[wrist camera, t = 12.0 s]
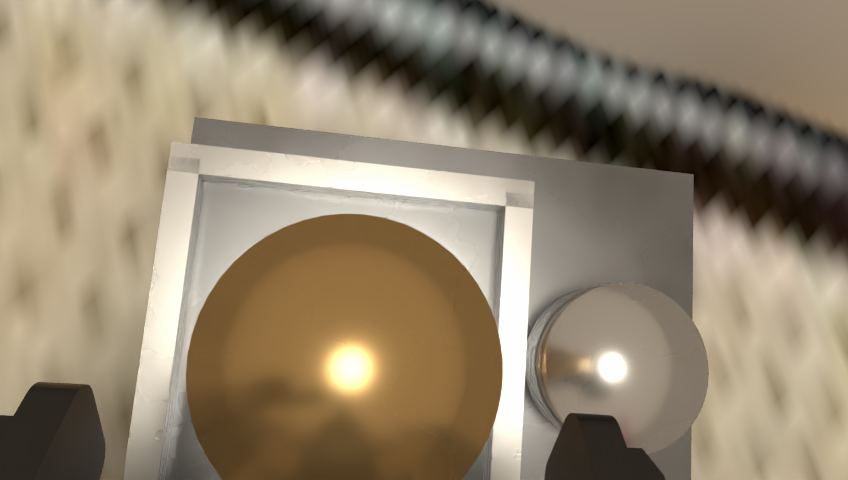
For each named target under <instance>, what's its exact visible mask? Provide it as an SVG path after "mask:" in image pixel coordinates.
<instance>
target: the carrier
mask: <svg viewBox="0 0 848 480" xmlns="http://www.w3.org/2000/svg"><path fill="white" fill-rule="evenodd" d="M693 175H694V174H685V173H676V172H668V171H659V170H650V169H642V168H633V167H624V166H615V165H607V164H598V163H589V162H581V161H572V160H563V159H554V158H546V157H537V156H528V155H520V154H511V153H502V152H493V151H485V150H476V149H467V148H459V147H450V146H441V145H432V144H424V143H415V142H406V141H398V140H389V139H380V138H371V137H363V136H354V135H345V134H337V133H328V132H319V131H310V130H302V129H293V128H284V127H276V126H267V125H258V124H249V123H241V122H232V121H223V120H215V119H206V118H197V117H195V119H194V126H193V133H192V140H191V144H189V143H180V142H171V148H170V155H169V162H168V169H167V176H166V183H165V190H164V197H163V204H162V211H161V218H160V225H159V232H158V239H157V245H156V252H155V259H154V266H153V273H152V280H151V287H150V294H149V301H148V308H147V315H146V322H145V329H144V335H143V342H142V349H141V356H140V363H139V370H138V377H137V384H136V391H135V398H134V405H133V412H132V419H131V426H130V432H129V439H128V446H127V453H126V460H125V467H124V474H123V480H222V479H221V478H220V476H219V475H218V473H217V472H216V470H215V469H214V468H213V466H212V465H211V463H210V462H209V460H208V459H207V457H206V455H205V453H204V451H203V449H202V447H201V445H200V443H199V441H198V438H197V435H196V432H195V430H194V427H193V424H192V421H191V416H190V411H189V406H188V401H187V389H186V367H187V355H188V350H189V345H190V340H191V335H192V332H193V329H194V327H195V324H196V321H197V318H198V315H199V313H200V311H201V309H202V307H203V305H204V303H205V301H206V299H207V297H208V295H209V293H210V292H211V290H212V289H213V287H214V286H215V284H216V283H217V281H218V280H219V278H220V277H221V276H222V275H223V274H224V273H225V271H226V270H227V269H228V268H229V267H230V266H231V265H232V263H233V262H234V261H235V260H236V259H238V258H239V257H240V256H241V255H242V254H243V253H244V252H245V251H247V250H248V249H249V248H250V247H252V246H253V245H255V244H256V243H257V242H259V241H260V240H262V239H263V238H265V237H266V236H268V235H270V234H272V233H274V232H276V231H278V230H280V229H282V228H284V227H286V226H289V225H291V224H294V223H297V222H300V221H302V220H306V219H310V218H315V217H319V216H324V215H334V214H365V215H371V216H377V217H383V218H387V219H390V220H393V221H397V222H400V223H403V224H405V225H408V226H410V227H412V228H414V229H416V230H419V231H421V232H422V233H424V234H426V235H427V236H429V237H431V238H432V239H434V240H436V241H437V242H438V243H440V244H441V245H442V246H443V247H445V248H446V249H447V250H448V251H450V252H451V253H452V254H453V255H454V256H455V257H456V258H457V259H458V260H459V261H460V262H461V263H462V264H463V265H464V266H465V267H466V269H467V270H468V271H469V273H470V274H471V275H472V277H473V278H474V279H475V281H476V282H477V283H478V285H479V287H480V289H481V290H482V292H483V294H484V296H485V297H486V299H487V301H488V304H489V306H490V308H491V311H492V313H493V316H494V318H495V322H496V325H497V329H498V333H499V337H500V342H501V350H502V357H503V382H502V391H501V399H500V403H499V407H498V411H497V415H496V419H495V422H494V425H493V427H492V430H491V432H490V435H489V438H488V440H487V442H486V444H485V445H484V447H483V449H482V451H481V453H480V455H479V457H478V458H477V460H476V461H475V462H474V464H473V465H472V467H471V468H470V469H469V471H468V472H467V474H466V475H465V476H464V477H463V478H462V479H461V480H544V479H545V469H546V464H547V461H548V459H549V456H550V454H551V451H552V449H553V447H554V444H555V442H556V440H557V437H558V435H559V432H560V430H561V428H562V425H563V423H564V421H565V418H566V416H567V415H568V414H569V413H584V414H603V415H612V416H613V417H614V418H615V419H616V420H617V422H618V424H619V426H620V429H621V432H622V434H623V437H624V440H625V443H626V446H627V448H642V449H643V450H644V451H645V452H646V454H647V455H648V456H649V457H650V458H651V460H652V461H653V462H654V463H655V465H656V466H657V467H658V468H659V470H660V471H661V472H662V473H663V475H664V477H665V479H666V480H691V425H692V424H693V423H694V421H695V419H696V418H697V416H698V414H699V412H700V410H701V408H702V406H703V403H704V399H705V396H706V392H707V386H708V374H709V373H708V360H707V354H706V350H705V346H704V343H703V340H702V338H701V335H700V333H699V331H698V329H697V327H696V326H695V324H694V322H693V321H692V294H693Z"/></svg>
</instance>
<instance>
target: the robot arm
mask: <svg viewBox="0 0 848 480" xmlns="http://www.w3.org/2000/svg"><path fill="white" fill-rule="evenodd" d="M104 458H105V440H104V435H103V431H102V427H101V423H100V419H99V415H98V411H97V407H96V403H95V399H94V395H93V391H92V389H91V387H90V386H89V385H85V384H67V383H49V382H38V383H36V384H34V385H33V386H32V387H31V388H30V389H29V391H28V392H27V394H26V395H25V397H24V399H23V401H22V402H21V404H20V406H19V407H18V409H17V411H16V413H15V414H14V416H4V415H0V480H99V479H100V476H101V473H102V469H103V464H104ZM544 480H666V479H665V477H664V475H663V473H662V472H661V471H660V470H659V468H658V467H657V466H656V465H655V463H654V462H653V461H652V460H651V458H650V457H649V456H648V455H647V454H646V452H645V451H644V450H643V449H642V448H627V446H626V443H625V440H624V437H623V434H622V432H621V429H620V426H619V424H618V422H617V420H616V419H615V418H614V417H613V416H612V415H603V414H584V413H569V414H568V415H567V416H566V418H565V421H564V423H563V425H562V428H561V430H560V432H559V435H558V437H557V440H556V442H555V444H554V447H553V449H552V451H551V454H550V456H549V459H548V461H547V464H546V469H545V479H544Z"/></svg>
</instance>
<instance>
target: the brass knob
mask: <svg viewBox="0 0 848 480" xmlns="http://www.w3.org/2000/svg"><path fill="white" fill-rule="evenodd" d="M502 382H503V357H502V350H501V342H500V337H499V333H498V329H497V325H496V322H495V318H494V316H493V313H492V311H491V308H490V306H489V304H488V301H487V299H486V297H485V296H484V294H483V292H482V290H481V289H480V287H479V285H478V283H477V282H476V281H475V279H474V278H473V277H472V275H471V274H470V273H469V271H468V270H467V269H466V267H465V266H464V265H463V264H462V263H461V262H460V261H459V260H458V259H457V258H456V257H455V256H454V255H453V254H452V253H451V252H450V251H448V250H447V249H446V248H445V247H443V246H442V245H441V244H440V243H438V242H437V241H436V240H434V239H432V238H431V237H429V236H427V235H426V234H424V233H422V232H421V231H419V230H416V229H414V228H412V227H410V226H408V225H405V224H403V223H400V222H397V221H393V220H390V219H387V218H383V217H377V216H371V215H365V214H334V215H324V216H319V217H315V218H310V219H306V220H302V221H300V222H297V223H294V224H291V225H289V226H286V227H284V228H282V229H280V230H278V231H276V232H274V233H272V234H270V235H268V236H266V237H265V238H263V239H262V240H260V241H259V242H257V243H256V244H255V245H253V246H252V247H250V248H249V249H248V250H247V251H245V252H244V253H243V254H242V255H241V256H240V257H239V258H238V259H236V260H235V261H234V262H233V263H232V265H231V266H230V267H229V268H228V269H227V270H226V271H225V273H224V274H223V275H222V276H221V277H220V278H219V280H218V281H217V283H216V284H215V286H214V287H213V289H212V290H211V292H210V293H209V295H208V297H207V299H206V301H205V303H204V305H203V307H202V309H201V311H200V313H199V315H198V318H197V321H196V324H195V327H194V329H193V332H192V335H191V340H190V345H189V350H188V355H187V367H186V389H187V401H188V406H189V411H190V416H191V421H192V424H193V427H194V430H195V432H196V435H197V438H198V441H199V443H200V445H201V447H202V449H203V451H204V453H205V455H206V457H207V459H208V460H209V462H210V463H211V465H212V466H213V468H214V469H215V470H216V472H217V473H218V475H219V476H220V478H221V479H222V480H461V479H462V478H463V477H464V476H465V475H466V474H467V472H468V471H469V469H470V468H471V467H472V465H473V464H474V462H475V461H476V460H477V458H478V457H479V455H480V453H481V451H482V449H483V447H484V445H485V444H486V442H487V440H488V438H489V435H490V432H491V430H492V427H493V425H494V422H495V419H496V415H497V411H498V407H499V403H500V399H501V391H502Z"/></svg>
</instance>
